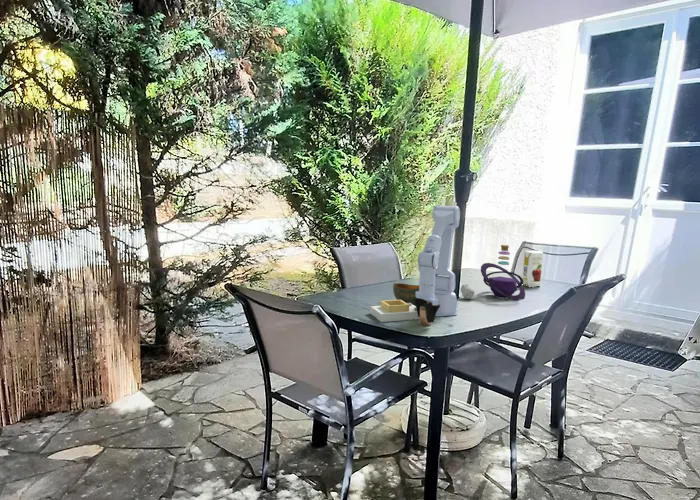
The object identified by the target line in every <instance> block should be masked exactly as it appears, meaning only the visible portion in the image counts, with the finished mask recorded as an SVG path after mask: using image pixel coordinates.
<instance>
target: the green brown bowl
mask: <svg viewBox="0 0 700 500" xmlns="http://www.w3.org/2000/svg"><path fill="white" fill-rule="evenodd" d="M392 285H393V287H392V290H393V295H394V297H395V300H402V301H404V302H405V303H412V305H414V306H416V305H415V302H414V300H413V298H416V296H415V295H416V291H419V284H418V285H415V284H407V283H403V282H402V283H400V282H394V283H393V284H392ZM427 304H429V302H427Z"/></svg>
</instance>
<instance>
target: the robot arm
mask: <svg viewBox="0 0 700 500" xmlns="http://www.w3.org/2000/svg"><path fill="white" fill-rule="evenodd" d="M432 208H433V209H432V219H433V222H434V223H433V228H432V230H431V235H429V236H427V239H426V241H425V243H424V247H423V250H422V251H421V252H420V253H419V254H418V257H417V267H418V273H419V279H418V280H419V284H418V285H419V291H416V295H415V296H416V298H413V300H414V302H415V305H416V308H417V313H418V317H420V306H421V305H424V306H425V309H426V314H427V322H428V323H431V324H432V323H434V321H435V317H445V316H446V317H447V316H458V314H457V302H458V300H457V295H456V293H455V290H456V274H455V273H454V272H453V271H452V270H451V269H450V266H451V258H452V249H453V241H454V232H455V229H457V228H459V225H460V220H461V219H460V218H461V210H460V207H459V206H458V205H455V206H453V205H437V204H436V205H434V206H433V207H432ZM427 302H429V304H427Z"/></svg>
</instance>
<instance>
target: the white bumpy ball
mask: <svg viewBox="0 0 700 500" xmlns="http://www.w3.org/2000/svg"><path fill="white" fill-rule="evenodd" d="M460 292H461V295H462V297H463V299H466V300H470V299H472V298H473V296H475V289H474V288H473V286H472V285H470V284H468V283H464V284H462V285H461V286H460Z"/></svg>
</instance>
